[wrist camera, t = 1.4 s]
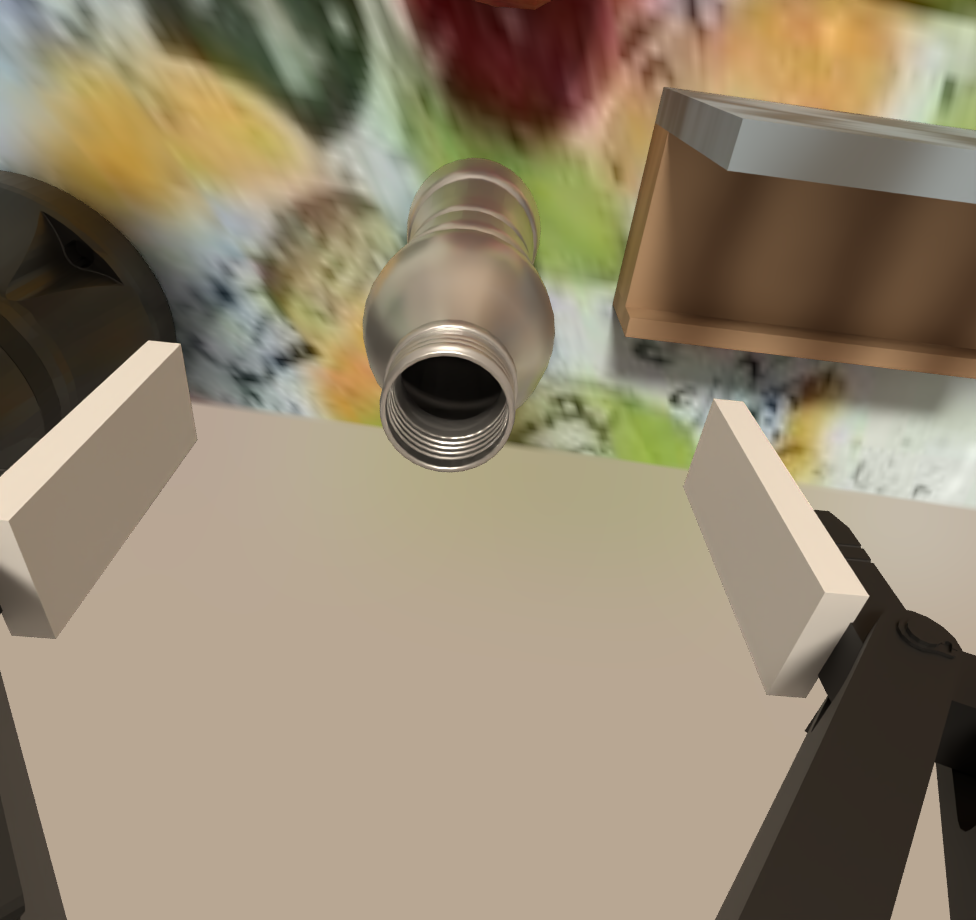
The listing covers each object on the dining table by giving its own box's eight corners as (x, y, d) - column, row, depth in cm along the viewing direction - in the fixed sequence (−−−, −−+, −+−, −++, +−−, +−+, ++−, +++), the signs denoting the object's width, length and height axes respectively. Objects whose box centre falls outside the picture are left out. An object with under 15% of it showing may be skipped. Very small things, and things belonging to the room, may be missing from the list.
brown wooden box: (612, 304, 36) (654, 411, 26) (663, 86, 30) (743, 118, 20) (958, 346, 37) (1127, 466, 27) (1074, 144, 31) (1344, 201, 21)
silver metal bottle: (551, 161, 32) (601, 312, 15) (524, 293, 36) (541, 529, 19) (420, 137, 31) (326, 265, 15) (407, 273, 35) (320, 498, 18)
